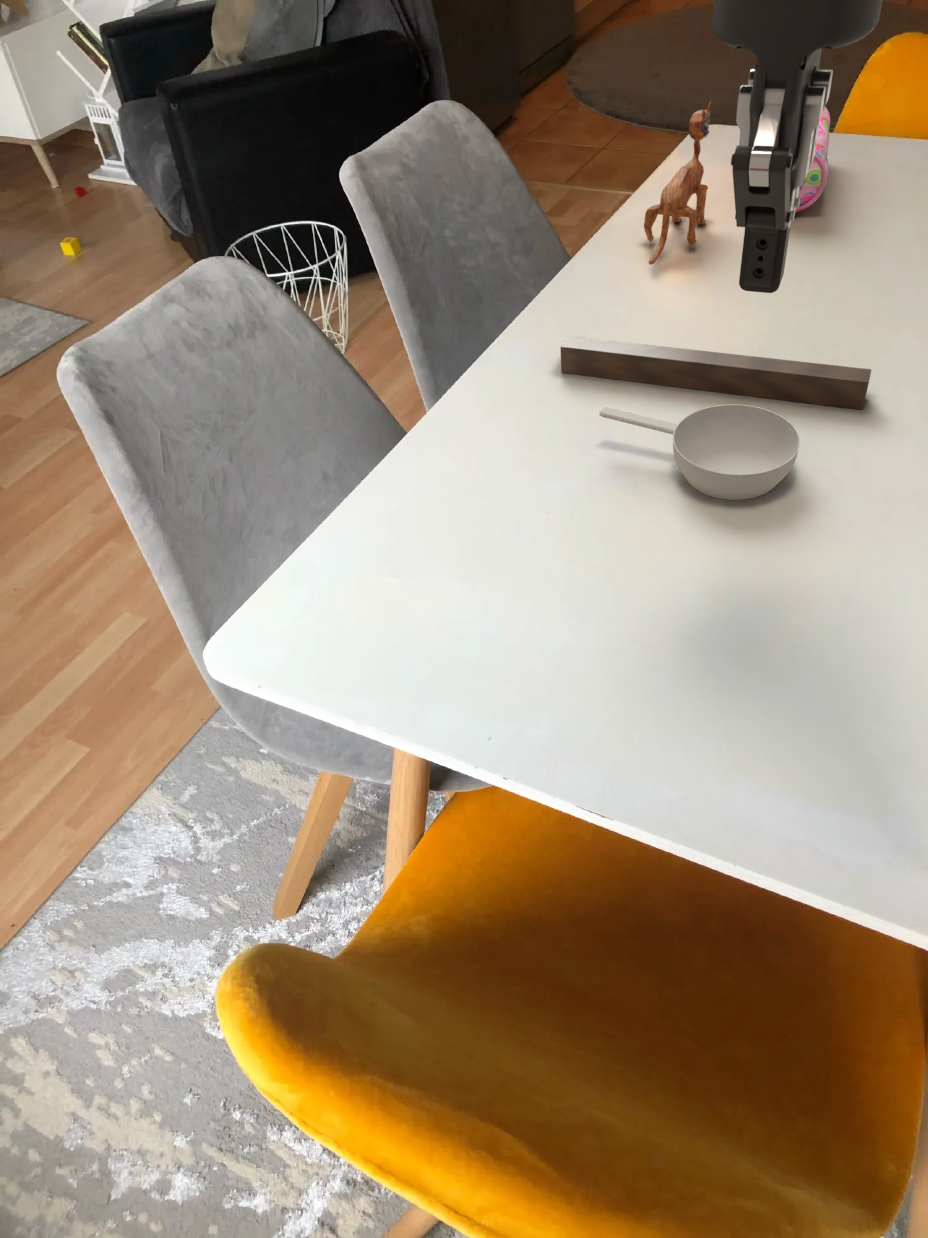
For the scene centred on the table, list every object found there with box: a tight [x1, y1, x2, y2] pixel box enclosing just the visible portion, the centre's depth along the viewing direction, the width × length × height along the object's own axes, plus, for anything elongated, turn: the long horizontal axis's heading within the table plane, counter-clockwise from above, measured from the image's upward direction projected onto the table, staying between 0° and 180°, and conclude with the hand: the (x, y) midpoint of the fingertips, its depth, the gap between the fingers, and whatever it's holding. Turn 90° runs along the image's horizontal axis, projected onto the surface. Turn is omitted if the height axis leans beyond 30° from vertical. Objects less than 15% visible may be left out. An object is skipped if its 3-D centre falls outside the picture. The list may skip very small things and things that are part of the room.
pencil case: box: [795, 106, 831, 213], centre depth 126 cm, size 21×9×9 cm, turn 163°
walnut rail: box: [560, 335, 872, 411], centre depth 96 cm, size 30×2×3 cm, turn 68°
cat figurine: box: [643, 100, 713, 265], centre depth 116 cm, size 18×7×14 cm, turn 153°
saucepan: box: [599, 403, 801, 501], centre depth 86 cm, size 11×18×4 cm, turn 63°
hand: (760, 285), depth 54 cm, fingers closed
